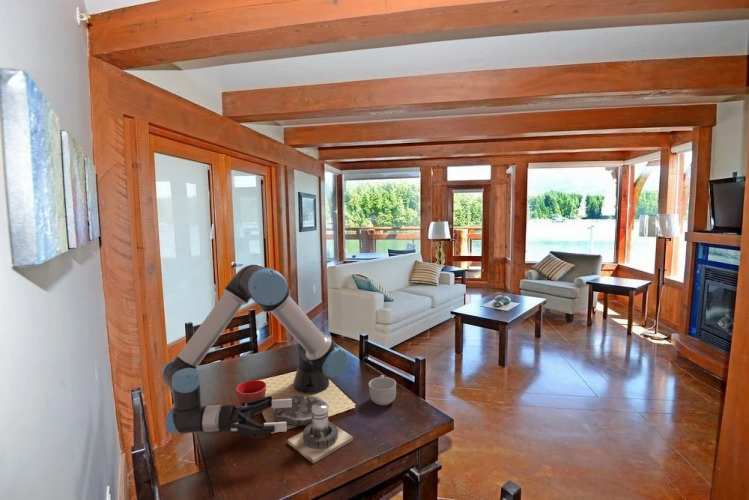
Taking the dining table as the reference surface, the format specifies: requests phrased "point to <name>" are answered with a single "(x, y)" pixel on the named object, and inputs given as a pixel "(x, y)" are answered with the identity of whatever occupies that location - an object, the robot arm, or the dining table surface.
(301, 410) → the brain slice
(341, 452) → the dining table surface
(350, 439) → the ring board
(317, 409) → the piston
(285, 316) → the robot arm
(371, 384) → the teacup
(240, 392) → the flower pot
